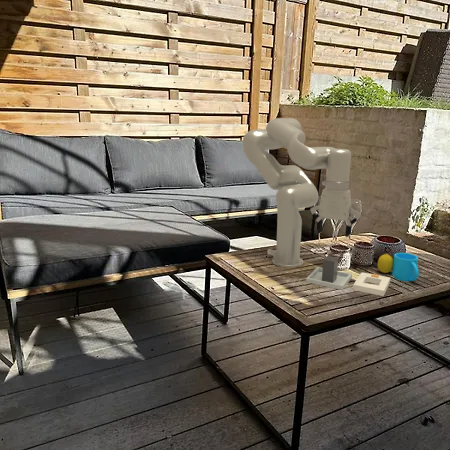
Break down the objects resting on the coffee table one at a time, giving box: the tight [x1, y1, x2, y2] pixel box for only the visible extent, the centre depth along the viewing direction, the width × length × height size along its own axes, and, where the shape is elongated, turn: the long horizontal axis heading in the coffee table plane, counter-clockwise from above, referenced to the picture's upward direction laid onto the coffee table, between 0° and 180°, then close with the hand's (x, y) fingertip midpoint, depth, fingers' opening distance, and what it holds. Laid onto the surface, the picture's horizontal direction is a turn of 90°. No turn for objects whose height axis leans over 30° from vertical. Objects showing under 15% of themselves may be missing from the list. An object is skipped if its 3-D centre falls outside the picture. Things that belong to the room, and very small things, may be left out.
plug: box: [322, 255, 339, 283], centre depth 150 cm, size 4×5×8 cm
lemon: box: [377, 253, 394, 274], centre depth 158 cm, size 6×6×8 cm
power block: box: [352, 272, 392, 297], centre depth 146 cm, size 10×13×3 cm
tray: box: [305, 266, 353, 291], centre depth 151 cm, size 13×13×2 cm
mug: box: [391, 252, 420, 282], centre depth 153 cm, size 12×8×8 cm
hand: (333, 234), depth 147 cm, fingers open, 9 cm apart
